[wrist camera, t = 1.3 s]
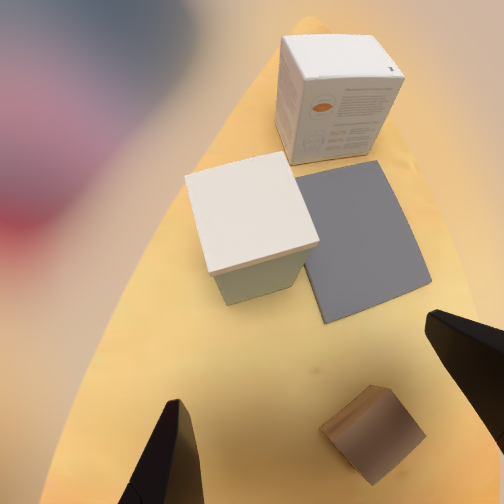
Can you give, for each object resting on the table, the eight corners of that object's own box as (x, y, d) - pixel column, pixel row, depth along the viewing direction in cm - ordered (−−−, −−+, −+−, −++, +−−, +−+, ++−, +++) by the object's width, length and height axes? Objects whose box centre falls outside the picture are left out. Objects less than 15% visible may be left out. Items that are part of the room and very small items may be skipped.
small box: (347, 113, 30) (374, 34, 20) (368, 156, 28) (408, 77, 18) (272, 121, 29) (279, 33, 19) (288, 167, 27) (304, 77, 17)
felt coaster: (428, 283, 24) (432, 281, 23) (324, 324, 23) (326, 323, 23) (374, 163, 28) (376, 160, 27) (274, 186, 27) (275, 182, 26)
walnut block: (402, 427, 20) (426, 436, 17) (355, 468, 19) (372, 485, 16) (369, 385, 22) (390, 389, 18) (319, 427, 21) (331, 440, 17)
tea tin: (292, 287, 24) (320, 240, 14) (226, 307, 24) (208, 272, 14) (271, 226, 26) (282, 150, 16) (208, 243, 25) (184, 175, 16)
